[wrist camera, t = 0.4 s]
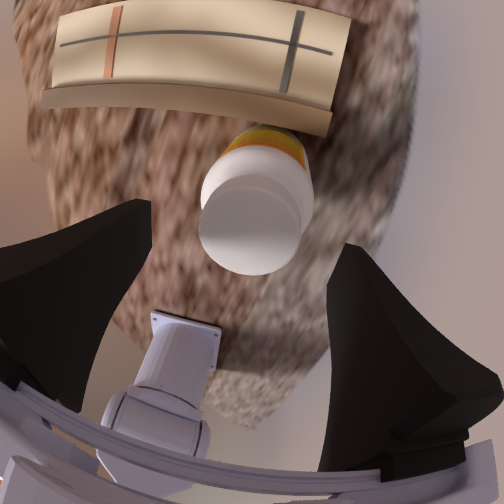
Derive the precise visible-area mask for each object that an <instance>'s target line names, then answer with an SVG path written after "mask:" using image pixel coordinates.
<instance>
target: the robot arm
mask: <svg viewBox="0 0 504 504" xmlns="http://www.w3.org/2000/svg"><path fill="white" fill-rule="evenodd" d="M151 248H152V228H151V201H148V200H142V199H134V200H130V201H127V202H125V203H122V204H120V205H117V206H115V207H113V208H111V209H108V210H106V211H104V212H102V213H99V214H97V215H95V216H93V217H90V218H88V219H86V220H83V221H81V222H79V223H76V224H74V225H72V226H69V227H67V228H64V229H62V230H59V231H57V232H54V233H51V234H48V235H45V236H42V237H39V238H36V239H32V240H29V241H26V242H22V243H19V244H15V245H11V246H7V247H3V248H0V479H1V480H2V482H1V486H0V504H179V503H175V502H171V501H168V500H164V499H161V498H162V497H165V496H168V495H172V494H175V493H178V492H182V491H185V490H187V489H190V488H191V487H192V485H193V484H194V483H199V484H203V485H208V486H213V487H219V488H225V489H230V490H237V491H244V492H252V493H262V494H274V495H294V496H323V495H324V496H325V495H332V496H331V497H329V498H328V499H324V500H303V501H291V502H288V503H274V504H490V503H492V502H494V501H495V500H497V499H498V497H499V495H498V481H497V471H496V463H495V456H494V451H493V444H492V440H491V439H489V440H486V441H483V442H480V443H477V444H474V445H471V446H469V447H466V448H465V447H464V441H466V440H467V439H468V438H469V432H468V429H469V428H470V427H472V426H473V425H475V424H476V423H478V422H479V421H481V420H482V419H483V418H485V417H486V416H488V415H489V414H490V413H492V412H493V411H494V410H495V409H496V408H497V407H498V406H499V405H500V404H501V402H502V401H503V399H504V391H503V388H502V385H501V382H500V379H499V377H498V375H497V374H496V373H494V372H493V371H491V370H490V369H488V368H486V367H485V366H483V365H482V364H480V363H478V362H477V361H475V360H474V359H473V358H471V357H470V356H469V355H467V354H466V353H465V352H463V351H462V350H460V349H459V348H458V347H457V346H455V345H454V344H453V343H452V342H450V341H449V340H448V339H447V338H446V337H445V336H444V335H442V334H441V333H440V332H439V331H438V330H437V329H436V328H434V327H433V326H432V325H431V324H430V323H429V322H428V321H427V320H426V319H425V318H424V317H423V316H422V315H421V314H420V313H419V312H418V311H417V310H416V309H415V308H414V307H413V306H412V305H411V304H410V303H409V301H408V300H407V299H406V298H405V297H404V296H403V295H402V294H401V293H400V291H399V290H398V289H397V288H396V287H395V286H394V284H393V283H392V282H391V281H390V280H389V278H388V277H387V276H386V275H385V274H384V272H383V271H382V270H381V269H380V268H379V266H378V265H377V264H376V263H375V262H374V260H373V259H372V258H371V257H370V256H369V255H368V254H367V253H366V251H365V250H364V249H363V248H361V247H360V246H356V245H352V244H348V243H345V245H344V247H343V250H342V252H341V254H340V257H339V259H338V261H337V263H336V266H335V268H334V270H333V273H332V275H331V277H330V279H329V281H328V284H327V318H328V328H329V338H330V348H331V361H332V375H331V393H330V404H329V414H328V421H327V428H326V434H325V440H324V445H323V450H322V455H321V459H320V463H319V468H318V471H317V472H300V471H284V470H272V469H262V468H254V467H247V466H240V465H234V464H228V463H222V462H217V461H212V460H207V459H205V458H206V455H207V451H208V448H209V443H210V428H209V426H208V424H207V422H206V421H204V420H201V418H202V414H203V412H202V411H200V406H201V402H202V398H203V394H204V390H205V386H206V382H207V378H208V375H209V371H210V372H215V369H216V363H217V357H218V351H219V345H220V339H221V333H222V330H221V329H220V328H218V327H215V326H210V325H206V324H202V323H198V322H194V321H190V320H186V319H183V318H179V317H175V316H171V315H168V314H164V313H161V312H157V311H152V312H151V322H152V329H153V336H154V337H153V339H152V342H151V344H150V346H149V349H148V351H147V353H146V356H145V358H144V360H143V363H142V366H141V368H140V370H139V372H138V375H137V377H136V380H135V382H134V385H130V387H129V389H128V392H126V391H124V390H120V391H119V392H116V393H114V394H113V396H112V397H111V399H110V401H109V403H108V405H107V407H106V410H105V413H104V416H103V418H102V422H101V425H100V424H98V423H95V422H94V421H91V420H89V419H87V418H85V417H83V416H81V415H79V414H77V413H79V412H81V408H82V403H83V398H84V394H85V390H86V385H87V381H88V378H89V375H90V371H91V368H92V365H93V362H94V358H95V356H96V353H97V350H98V347H99V345H100V342H101V339H102V337H103V335H104V332H105V330H106V328H107V326H108V323H109V321H110V319H111V317H112V315H113V313H114V311H115V310H116V308H117V306H118V305H119V303H120V301H121V300H122V298H123V297H124V295H125V293H126V292H127V290H128V289H129V287H130V286H131V284H132V283H133V281H134V279H135V278H136V276H137V275H138V273H139V272H140V270H141V268H142V267H143V265H144V263H145V261H146V259H147V256H148V254H149V252H150V250H151ZM50 425H52V426H54V427H55V428H57V429H59V430H61V431H62V432H64V433H66V434H68V435H70V436H71V437H73V438H75V439H77V440H79V441H81V442H83V443H85V444H87V445H89V446H91V447H93V448H96V450H97V453H96V454H97V457H98V459H99V460H100V461H99V460H98V459H97V458H95V457H93V456H91V455H89V454H88V453H86V452H84V451H83V450H81V449H80V448H78V447H77V446H76V445H74V444H73V443H72V442H70V441H68V440H66V439H65V438H63V437H62V436H60V435H58V434H57V433H55V432H53V431H52V427H51V426H50ZM100 462H101V463H102V464H103V466H104V467H105V468H106V470H107V471H108V472H109V474H110V475H111V476H112V478H113V479H114V481H115V482H113V481H111V480H108V479H106V478H104V477H102V476H99V475H98V474H97V471H98V468H99V465H100Z"/></svg>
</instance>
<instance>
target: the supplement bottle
mask: <svg viewBox="0 0 504 504" xmlns="http://www.w3.org/2000/svg"><path fill="white" fill-rule="evenodd" d="M201 206H202V212H201V215H200V218H199V236H200V240H201V243H202V245H203V247H204V249H205V250H206V252H207V253H208V254H209V256H210V257H211V258H212V259H213V260H214V261H216V262H217V263H218V264H219V265H221V266H222V267H224V268H226V269H228V270H230V271H233V272H236V273H239V274H244V275H263V274H268V273H271V272H274V271H276V270H278V269H280V268H282V267H283V266H285V265H286V264H287V263H288V262H289V261H290V260H291V259H292V258H293V257H294V255H295V253H296V251H297V250H298V247H299V244H300V239H301V235H302V234H303V232H304V231H305V230H306V228H307V227H308V225H309V223H310V220H311V217H312V214H313V209H314V192H313V185H312V180H311V174H310V169H309V163H308V159H307V155H306V152H305V149H304V147H303V145H302V143H301V142H300V141H299V139H298V138H297V137H296V136H295V135H294V134H292V133H291V132H290V131H288V130H286V129H284V128H282V127H279V126H274V125H268V124H265V125H257V126H254V127H251V128H248V129H247V130H245V131H243V132H242V133H241V134H239V135H238V136H237V137H236V138H235V139H234V141H233V142H232V143H231V144H230V145H229V147H228V148H227V149H226V150H225V151H224V153H223V154H222V155H221V156H220V157H219V159H218V160H217V161H216V162H215V164H214V165H213V166H212V167H211V169H210V170H209V172H208V174H207V176H206V178H205V180H204V183H203V186H202V191H201Z"/></svg>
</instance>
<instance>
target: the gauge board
mask: <svg viewBox="0 0 504 504" xmlns="http://www.w3.org/2000/svg"><path fill="white" fill-rule="evenodd" d="M350 24H351V19H350V18H347V17H344V16H340V15H337V14H333V13H330V12H326V11H322V10H318V9H314V8H310V7H306V6H301V5H296V4H291V3H286V2H280V1H273V0H128V1H122V2H116V3H111V4H106V5H101V6H97V7H92V8H88V9H84V10H81V11H77V12H73V13H70V14H67V15H64V16H60V18H59V24H58V30H57V36H56V43H55V52H54V61H53V74H52V88H50V89H46V90H42V109H54V108H71V107H136V108H154V109H167V110H178V111H188V112H197V113H205V114H212V115H219V116H226V117H232V118H238V119H243V120H249V121H254V122H259V123H264V124H269V125H274V126H279V127H283V128H287V129H292V130H296V131H300V132H304V133H308V134H312V135H316V136H319V137H323V138H326V135H327V132H328V128H329V124H330V121H331V117H332V112H331V111H330V108H331V104H332V100H333V96H334V92H335V88H336V84H337V80H338V76H339V72H340V68H341V63H342V59H343V55H344V51H345V46H346V42H347V37H348V33H349V28H350Z"/></svg>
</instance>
